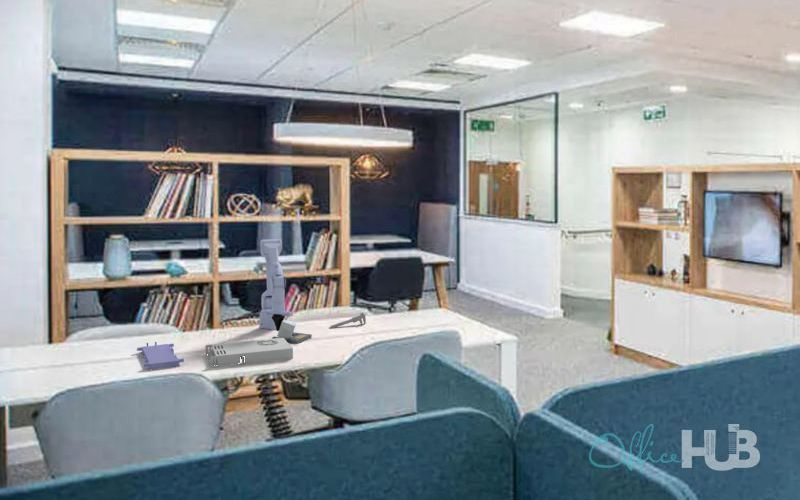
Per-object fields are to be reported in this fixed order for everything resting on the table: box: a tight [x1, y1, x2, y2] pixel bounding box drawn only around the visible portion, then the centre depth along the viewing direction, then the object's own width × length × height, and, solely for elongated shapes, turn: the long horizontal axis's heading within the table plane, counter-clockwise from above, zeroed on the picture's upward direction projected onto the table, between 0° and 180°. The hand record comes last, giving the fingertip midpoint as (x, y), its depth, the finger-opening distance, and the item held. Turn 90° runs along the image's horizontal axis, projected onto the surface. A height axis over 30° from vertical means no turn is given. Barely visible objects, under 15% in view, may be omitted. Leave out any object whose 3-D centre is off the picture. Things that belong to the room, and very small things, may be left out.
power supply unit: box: [205, 338, 294, 368], centre depth 268 cm, size 19×33×5 cm, turn 112°
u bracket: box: [271, 331, 313, 345], centre depth 297 cm, size 14×12×2 cm
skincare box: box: [276, 318, 297, 338], centre depth 297 cm, size 6×6×7 cm
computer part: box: [136, 341, 185, 370], centre depth 265 cm, size 30×4×15 cm
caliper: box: [328, 311, 367, 329], centre depth 323 cm, size 20×1×6 cm, turn 122°
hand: (278, 330), depth 298 cm, fingers closed, pressing on skincare box
